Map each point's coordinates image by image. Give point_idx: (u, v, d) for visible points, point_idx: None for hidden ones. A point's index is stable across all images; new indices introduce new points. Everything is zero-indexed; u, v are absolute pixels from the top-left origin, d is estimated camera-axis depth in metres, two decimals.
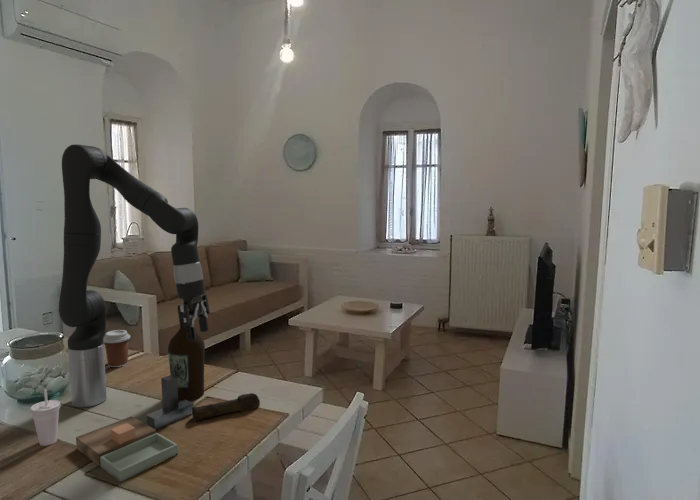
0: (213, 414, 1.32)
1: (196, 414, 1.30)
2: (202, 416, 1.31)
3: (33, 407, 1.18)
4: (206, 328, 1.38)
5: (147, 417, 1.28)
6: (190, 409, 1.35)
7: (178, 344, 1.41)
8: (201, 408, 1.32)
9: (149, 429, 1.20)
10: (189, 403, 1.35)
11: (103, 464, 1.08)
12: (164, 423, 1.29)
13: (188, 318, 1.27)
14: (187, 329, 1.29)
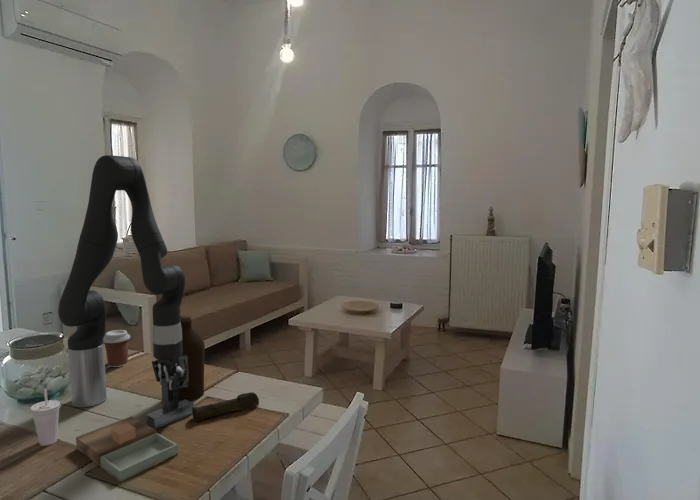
0: (213, 414, 1.33)
1: (197, 414, 1.30)
2: (203, 416, 1.31)
3: (33, 407, 1.18)
4: None
5: (147, 417, 1.28)
6: (190, 409, 1.35)
7: None
8: (202, 408, 1.32)
9: (149, 429, 1.20)
10: (189, 403, 1.35)
11: (103, 464, 1.08)
12: (164, 423, 1.29)
13: None
14: (174, 390, 1.29)
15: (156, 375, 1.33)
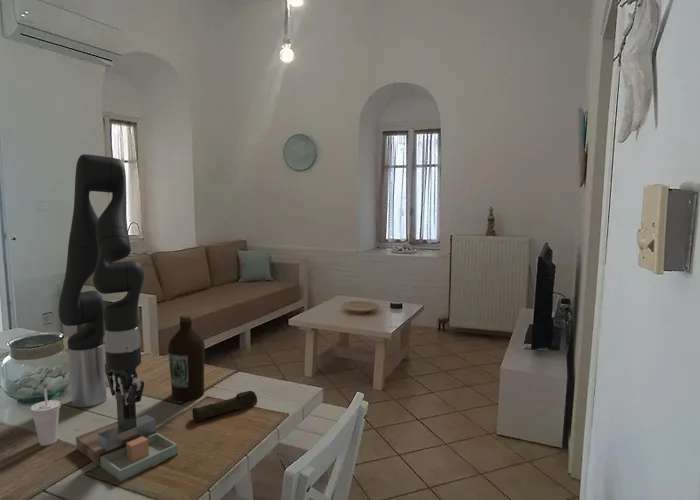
0: (214, 413, 1.33)
1: (198, 414, 1.29)
2: (204, 416, 1.31)
3: (33, 407, 1.18)
4: None
5: (99, 436, 1.10)
6: (151, 426, 1.17)
7: (178, 344, 1.41)
8: (202, 408, 1.32)
9: None
10: (150, 419, 1.18)
11: (103, 464, 1.08)
12: (118, 443, 1.11)
13: None
14: (131, 406, 1.12)
15: (111, 388, 1.15)
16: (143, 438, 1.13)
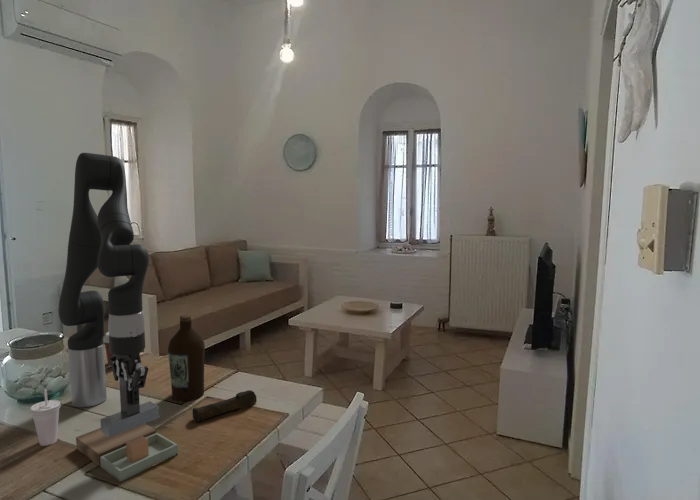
0: (214, 413, 1.33)
1: (199, 415, 1.29)
2: (204, 416, 1.31)
3: (33, 407, 1.18)
4: None
5: (101, 422, 1.09)
6: (154, 413, 1.15)
7: (178, 344, 1.41)
8: (202, 408, 1.31)
9: (149, 429, 1.20)
10: (153, 406, 1.16)
11: (103, 464, 1.08)
12: (121, 429, 1.09)
13: None
14: (134, 391, 1.10)
15: (114, 373, 1.13)
16: (143, 438, 1.13)
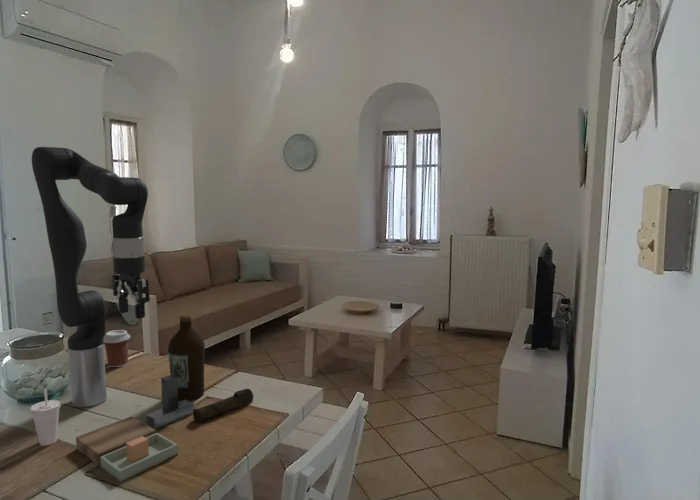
0: (215, 413, 1.33)
1: (201, 415, 1.29)
2: (206, 417, 1.31)
3: (33, 407, 1.18)
4: (127, 309, 1.29)
5: (147, 417, 1.28)
6: (190, 409, 1.35)
7: (178, 344, 1.41)
8: (204, 408, 1.31)
9: (149, 429, 1.20)
10: (189, 403, 1.36)
11: (103, 464, 1.08)
12: (164, 423, 1.29)
13: None
14: (141, 305, 1.22)
15: (114, 289, 1.28)
16: (143, 438, 1.13)
